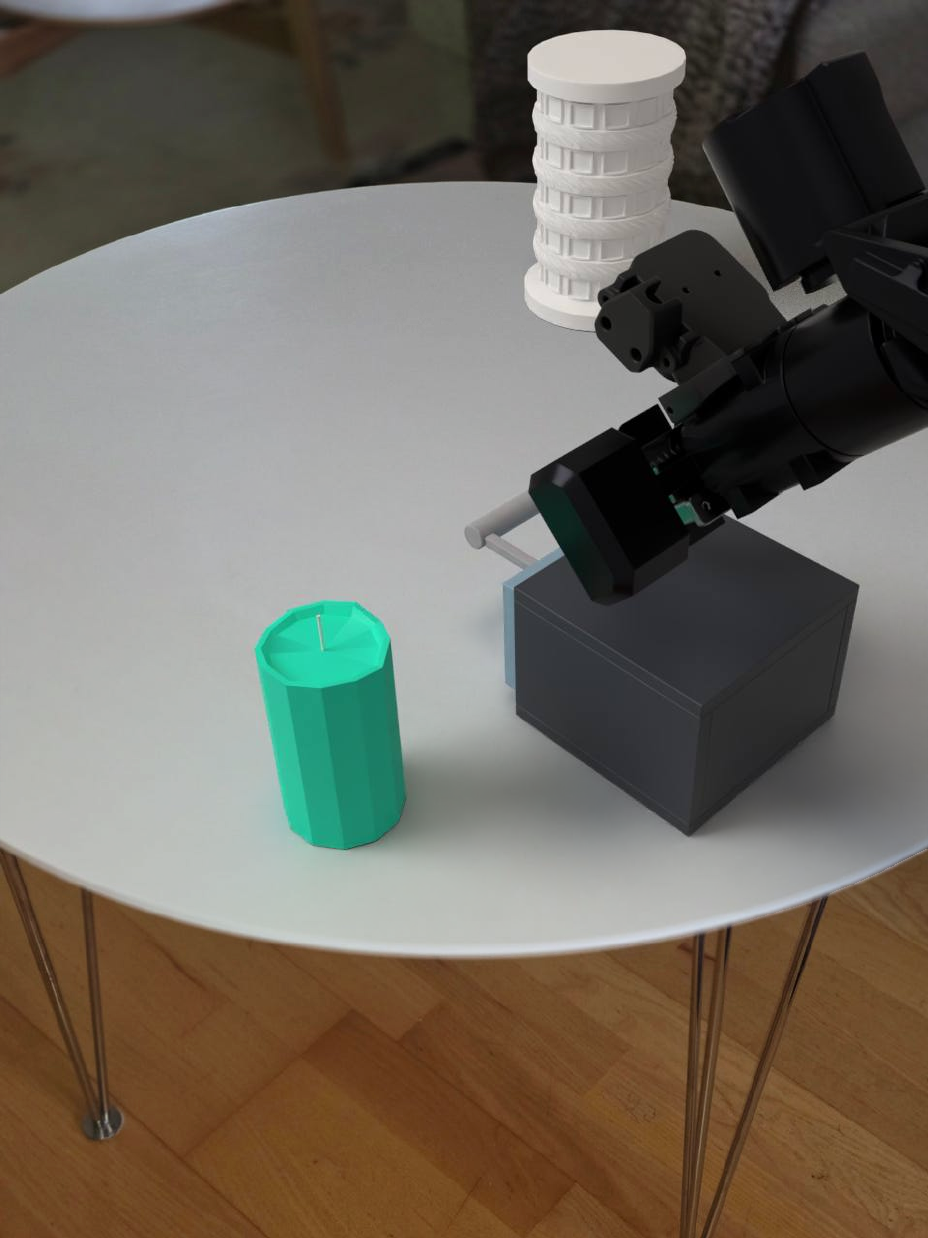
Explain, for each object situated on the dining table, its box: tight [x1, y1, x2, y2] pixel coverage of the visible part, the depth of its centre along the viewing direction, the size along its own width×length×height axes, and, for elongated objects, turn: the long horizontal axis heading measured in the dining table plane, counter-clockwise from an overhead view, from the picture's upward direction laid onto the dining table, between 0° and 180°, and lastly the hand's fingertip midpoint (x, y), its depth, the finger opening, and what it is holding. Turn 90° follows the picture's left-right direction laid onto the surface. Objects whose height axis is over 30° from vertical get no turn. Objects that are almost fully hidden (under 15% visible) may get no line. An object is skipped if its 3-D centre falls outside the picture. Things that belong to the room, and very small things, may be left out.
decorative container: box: [524, 29, 687, 332], centre depth 100 cm, size 12×12×18 cm
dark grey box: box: [514, 513, 860, 837], centre depth 68 cm, size 12×12×9 cm
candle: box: [253, 599, 407, 850], centre depth 63 cm, size 6×6×12 cm
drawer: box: [463, 489, 564, 691], centre depth 70 cm, size 16×10×7 cm, turn 43°
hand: (615, 500), depth 66 cm, fingers closed
